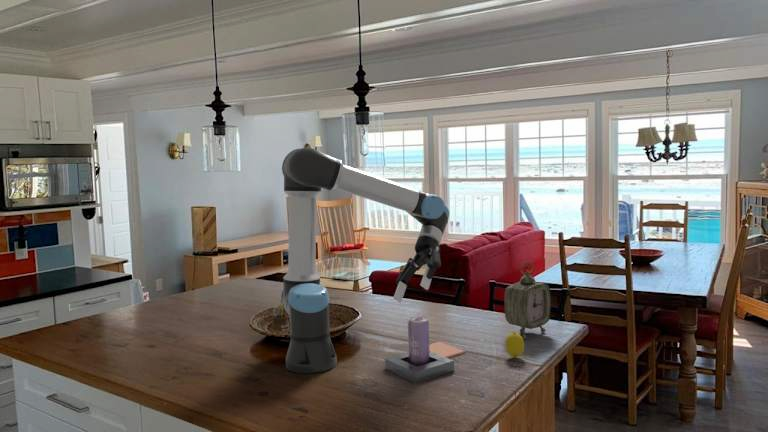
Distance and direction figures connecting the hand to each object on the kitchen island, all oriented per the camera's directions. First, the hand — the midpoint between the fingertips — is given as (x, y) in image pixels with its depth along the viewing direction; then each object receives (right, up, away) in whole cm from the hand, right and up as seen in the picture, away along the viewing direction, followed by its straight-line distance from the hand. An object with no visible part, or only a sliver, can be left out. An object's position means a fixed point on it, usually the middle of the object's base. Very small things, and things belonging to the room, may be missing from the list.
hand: (410, 294), depth 170 cm
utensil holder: (-44, -19, +27) cm, 55 cm away
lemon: (+31, -19, -3) cm, 37 cm away
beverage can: (+2, -20, -10) cm, 23 cm away
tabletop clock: (+41, -17, +20) cm, 48 cm away
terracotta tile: (+9, -19, +4) cm, 21 cm away
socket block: (+2, -20, -10) cm, 23 cm away
